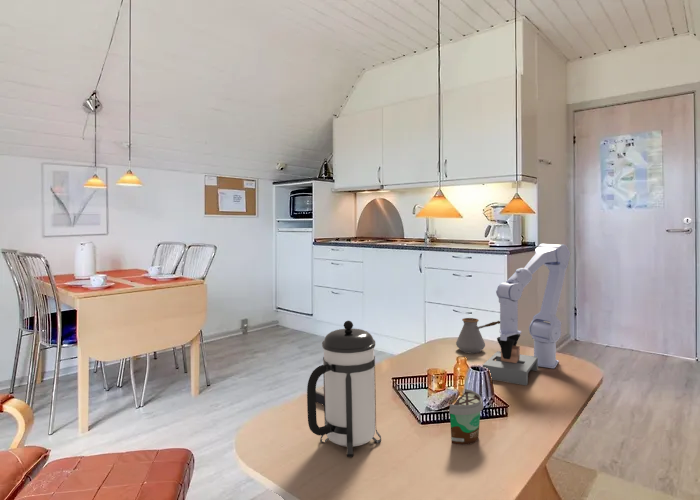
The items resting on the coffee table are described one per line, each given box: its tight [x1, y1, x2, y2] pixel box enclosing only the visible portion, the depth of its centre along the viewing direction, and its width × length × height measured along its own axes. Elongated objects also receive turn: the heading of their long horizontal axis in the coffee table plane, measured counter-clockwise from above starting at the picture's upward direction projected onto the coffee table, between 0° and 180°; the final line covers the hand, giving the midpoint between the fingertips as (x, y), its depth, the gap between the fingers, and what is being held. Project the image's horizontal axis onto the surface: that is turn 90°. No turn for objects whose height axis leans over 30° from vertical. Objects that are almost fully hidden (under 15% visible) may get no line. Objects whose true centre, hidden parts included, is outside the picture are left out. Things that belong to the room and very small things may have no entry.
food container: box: [448, 388, 484, 446], centre depth 110 cm, size 12×6×10 cm, turn 148°
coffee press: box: [306, 320, 382, 458], centre depth 108 cm, size 17×16×30 cm
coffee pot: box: [455, 317, 500, 354], centre depth 179 cm, size 21×12×15 cm, turn 39°
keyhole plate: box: [482, 350, 539, 386], centre depth 155 cm, size 18×14×4 cm
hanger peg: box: [500, 345, 521, 363], centre depth 155 cm, size 5×5×8 cm
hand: (508, 356), depth 155 cm, fingers closed on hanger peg, 5 cm apart
